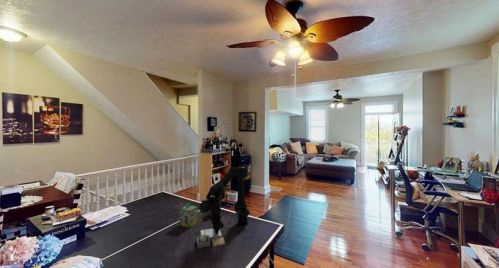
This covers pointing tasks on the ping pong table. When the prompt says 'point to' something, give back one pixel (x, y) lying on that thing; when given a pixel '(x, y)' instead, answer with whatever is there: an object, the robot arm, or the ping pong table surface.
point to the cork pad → (218, 241)
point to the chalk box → (188, 215)
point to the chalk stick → (215, 234)
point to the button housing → (203, 244)
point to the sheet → (209, 233)
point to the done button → (203, 238)
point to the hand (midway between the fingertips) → (215, 232)
